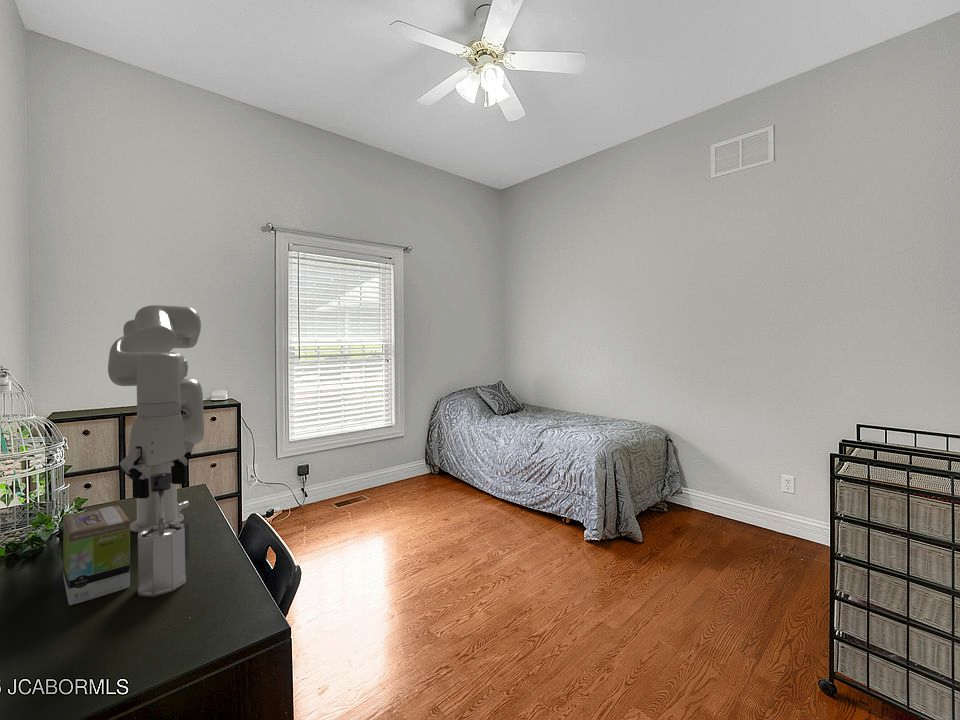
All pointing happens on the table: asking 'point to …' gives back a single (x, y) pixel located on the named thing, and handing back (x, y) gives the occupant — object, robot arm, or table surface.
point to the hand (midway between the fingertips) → (160, 490)
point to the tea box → (96, 553)
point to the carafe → (162, 560)
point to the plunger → (160, 501)
